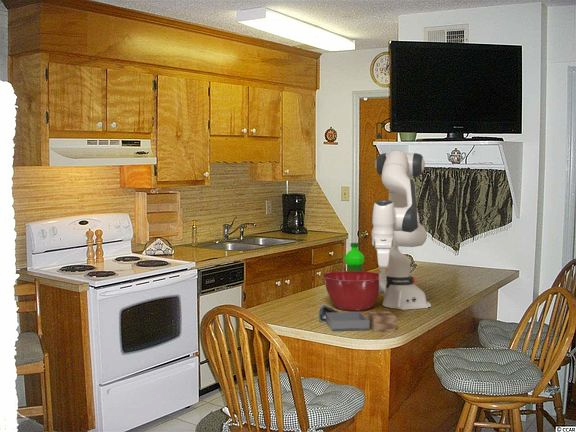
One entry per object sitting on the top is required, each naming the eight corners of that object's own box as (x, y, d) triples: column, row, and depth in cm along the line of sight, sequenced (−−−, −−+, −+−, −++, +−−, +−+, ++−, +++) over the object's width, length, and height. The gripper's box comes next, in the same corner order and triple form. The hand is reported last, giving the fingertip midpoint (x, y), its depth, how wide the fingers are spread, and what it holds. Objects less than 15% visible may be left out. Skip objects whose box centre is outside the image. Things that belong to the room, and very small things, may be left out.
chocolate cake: (344, 318, 273) (324, 299, 274) (348, 317, 266) (328, 297, 267) (329, 334, 271) (309, 314, 271) (333, 334, 264) (312, 313, 264)
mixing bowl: (312, 304, 299) (313, 271, 298) (366, 299, 309) (366, 268, 308) (338, 317, 273) (338, 282, 271) (395, 312, 283) (396, 278, 281)
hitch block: (389, 325, 259) (389, 311, 258) (396, 331, 250) (396, 316, 249) (368, 326, 258) (368, 312, 257) (373, 332, 249) (374, 317, 248)
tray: (360, 321, 266) (360, 311, 266) (369, 330, 251) (369, 320, 251) (325, 322, 264) (325, 312, 264) (332, 331, 250) (332, 321, 249)
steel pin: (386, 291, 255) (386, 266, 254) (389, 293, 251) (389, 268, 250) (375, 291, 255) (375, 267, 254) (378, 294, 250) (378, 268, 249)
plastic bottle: (343, 291, 329) (343, 244, 327) (346, 287, 339) (346, 241, 337) (362, 292, 326) (363, 244, 324) (364, 288, 337) (365, 242, 335)
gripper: (375, 237, 261) (374, 270, 263) (375, 244, 241) (374, 279, 243) (390, 237, 261) (390, 270, 262) (391, 244, 240) (391, 280, 242)
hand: (382, 275), depth 252 cm, fingers closed on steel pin, 3 cm apart
